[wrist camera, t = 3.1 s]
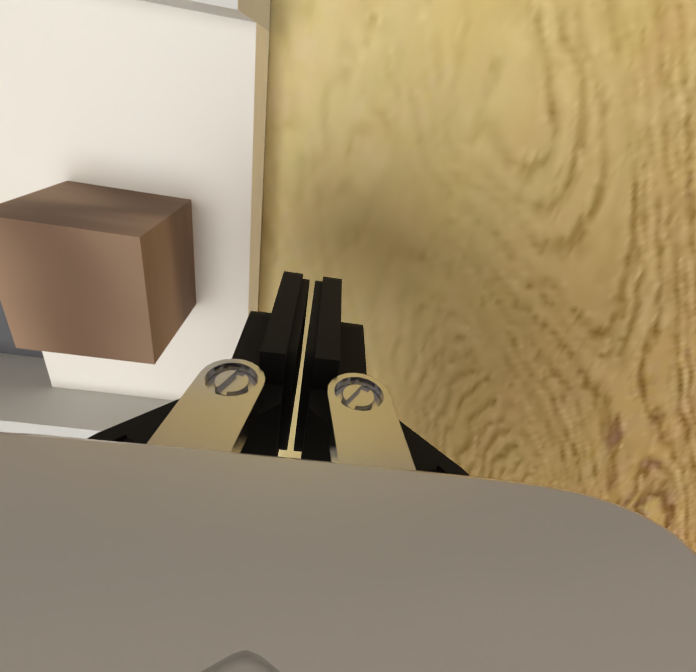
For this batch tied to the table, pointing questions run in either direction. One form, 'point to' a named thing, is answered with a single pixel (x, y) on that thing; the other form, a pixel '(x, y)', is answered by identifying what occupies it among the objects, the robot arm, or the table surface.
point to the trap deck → (137, 174)
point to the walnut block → (96, 270)
